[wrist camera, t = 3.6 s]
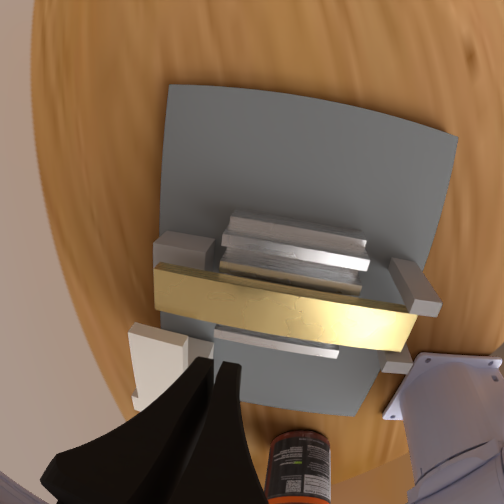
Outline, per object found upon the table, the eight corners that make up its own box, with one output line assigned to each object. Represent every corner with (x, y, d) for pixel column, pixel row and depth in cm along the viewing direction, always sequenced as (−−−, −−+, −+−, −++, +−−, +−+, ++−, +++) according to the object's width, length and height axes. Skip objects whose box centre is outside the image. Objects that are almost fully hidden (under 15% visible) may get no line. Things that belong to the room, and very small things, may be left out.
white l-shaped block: (218, 293, 19) (192, 349, 15) (212, 372, 22) (192, 427, 17) (158, 281, 20) (119, 329, 15) (161, 359, 23) (134, 409, 18)
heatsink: (361, 230, 17) (372, 252, 14) (331, 332, 20) (334, 363, 17) (236, 208, 17) (223, 225, 15) (224, 313, 20) (213, 342, 17)
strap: (413, 306, 14) (418, 314, 14) (397, 342, 15) (400, 352, 15) (159, 261, 15) (153, 268, 15) (160, 301, 16) (154, 309, 16)
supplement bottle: (294, 461, 29) (284, 551, 18) (258, 438, 27) (239, 538, 17) (341, 445, 26) (341, 543, 16) (308, 420, 25) (300, 533, 15)
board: (449, 135, 15) (503, 146, 9) (353, 406, 24) (357, 461, 19) (177, 86, 16) (126, 76, 11) (169, 373, 25) (144, 423, 20)
